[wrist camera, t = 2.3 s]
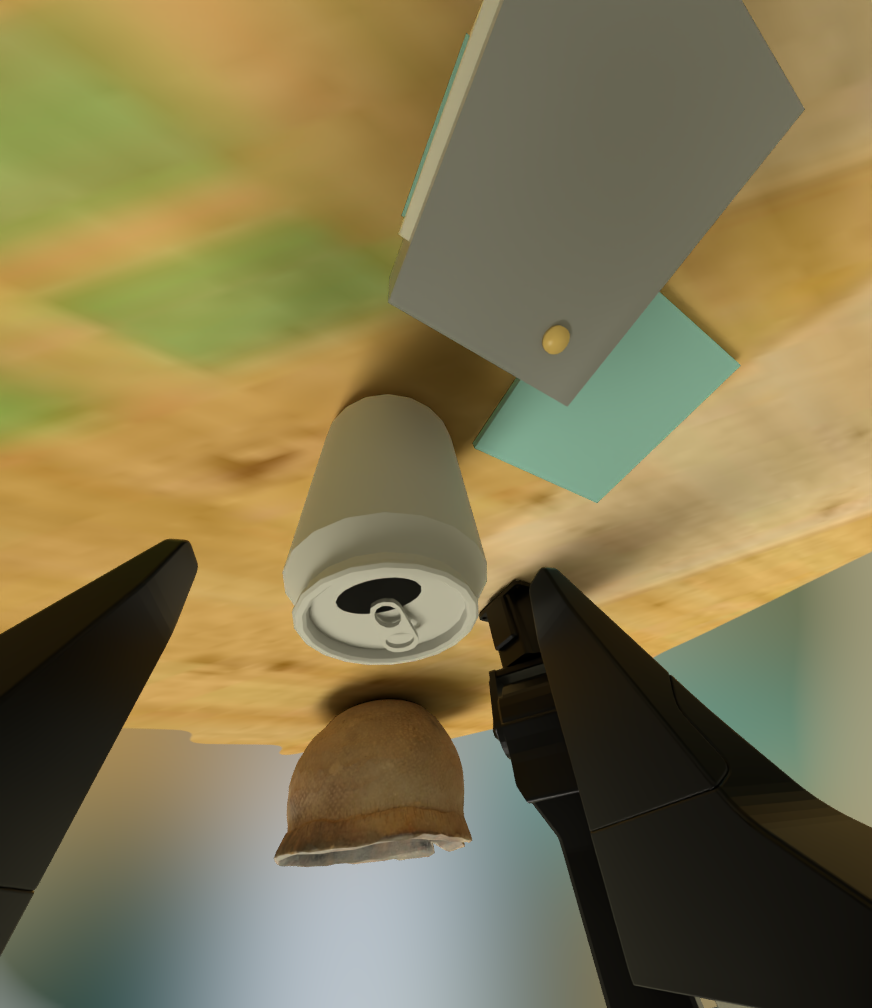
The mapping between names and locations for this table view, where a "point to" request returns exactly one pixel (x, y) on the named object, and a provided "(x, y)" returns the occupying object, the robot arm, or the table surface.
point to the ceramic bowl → (375, 789)
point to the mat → (611, 406)
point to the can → (385, 539)
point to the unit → (580, 173)
